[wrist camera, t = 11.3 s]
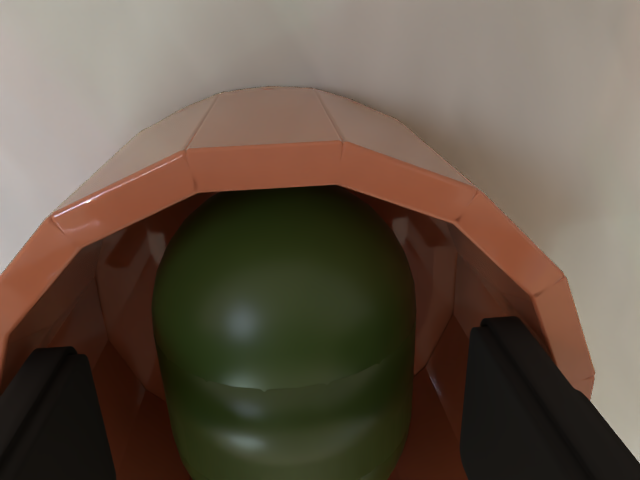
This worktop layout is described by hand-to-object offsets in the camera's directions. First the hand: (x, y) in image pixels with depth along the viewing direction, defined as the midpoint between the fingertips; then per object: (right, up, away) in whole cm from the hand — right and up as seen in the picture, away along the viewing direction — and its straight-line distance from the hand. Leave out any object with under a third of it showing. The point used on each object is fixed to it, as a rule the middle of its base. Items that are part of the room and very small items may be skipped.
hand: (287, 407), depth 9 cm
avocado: (0, +2, +5) cm, 5 cm away
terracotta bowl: (-1, +2, +5) cm, 5 cm away
